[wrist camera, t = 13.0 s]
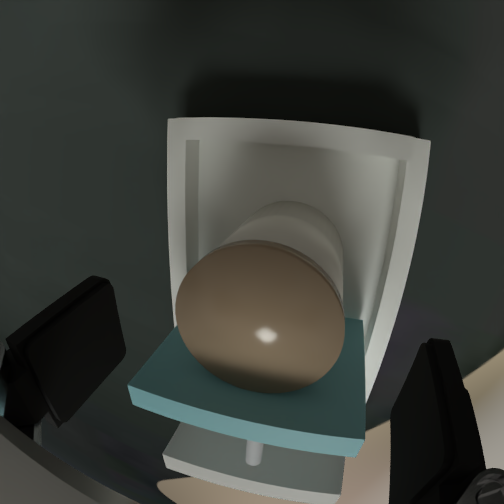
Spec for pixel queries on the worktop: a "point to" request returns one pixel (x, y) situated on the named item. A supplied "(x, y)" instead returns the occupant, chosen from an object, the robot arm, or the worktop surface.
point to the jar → (268, 301)
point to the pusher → (261, 401)
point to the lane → (339, 213)
